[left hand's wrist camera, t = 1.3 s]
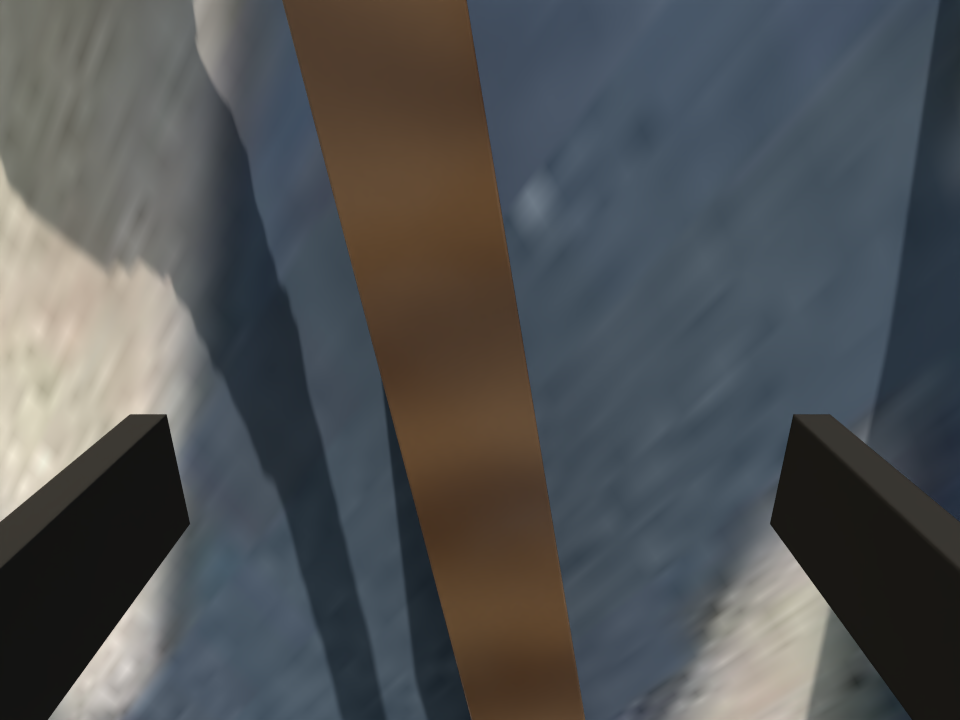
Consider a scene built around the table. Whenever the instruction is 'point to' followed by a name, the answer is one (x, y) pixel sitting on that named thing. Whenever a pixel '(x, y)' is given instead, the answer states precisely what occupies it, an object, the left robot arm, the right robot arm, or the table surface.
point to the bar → (445, 331)
